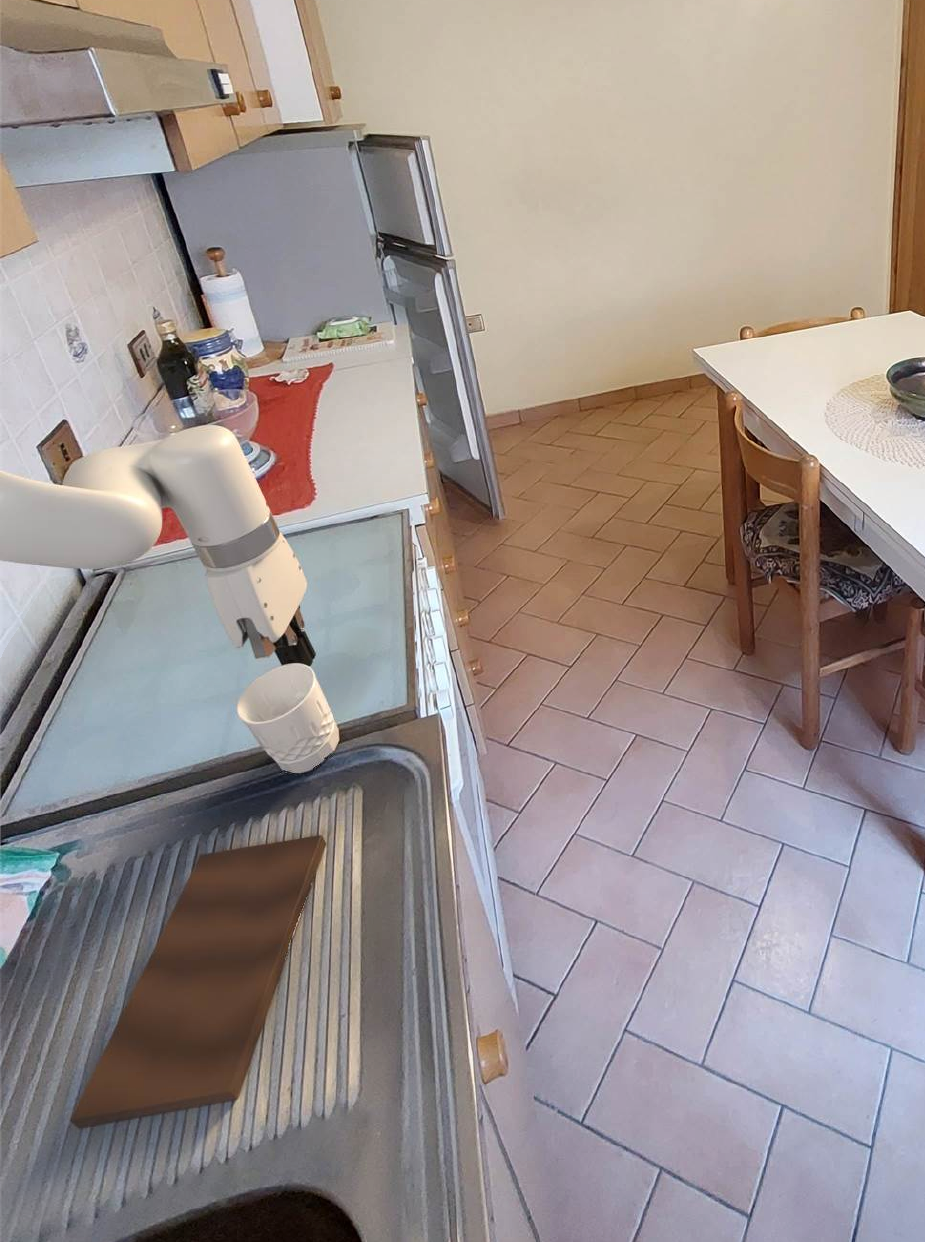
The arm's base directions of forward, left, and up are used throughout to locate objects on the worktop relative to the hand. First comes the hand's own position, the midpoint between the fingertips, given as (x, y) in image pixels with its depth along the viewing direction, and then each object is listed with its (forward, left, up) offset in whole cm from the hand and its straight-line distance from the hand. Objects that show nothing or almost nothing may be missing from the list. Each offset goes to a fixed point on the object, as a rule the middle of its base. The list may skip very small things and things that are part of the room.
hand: (300, 662), depth 89 cm
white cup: (0, -5, -9) cm, 10 cm away
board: (0, -28, -9) cm, 29 cm away
